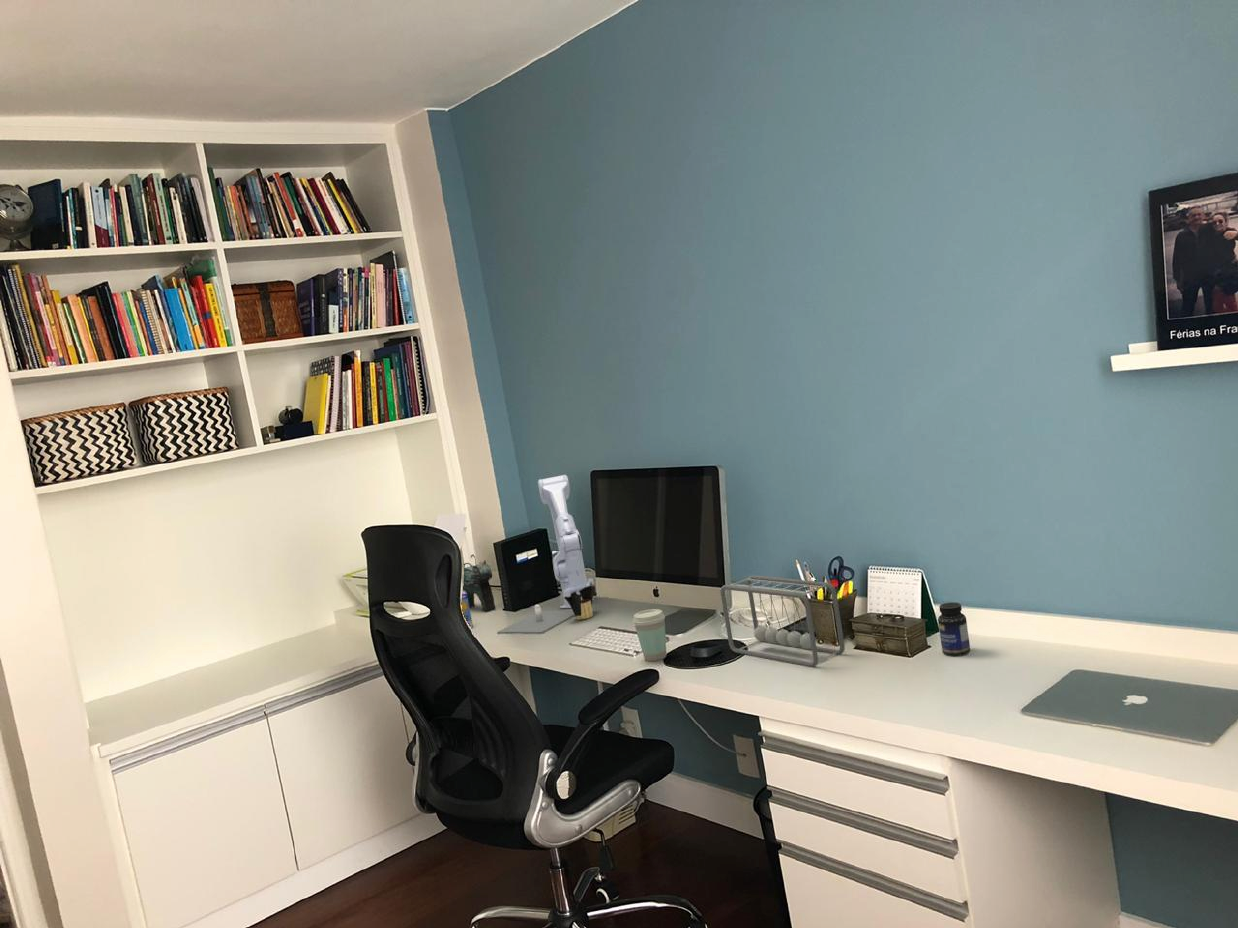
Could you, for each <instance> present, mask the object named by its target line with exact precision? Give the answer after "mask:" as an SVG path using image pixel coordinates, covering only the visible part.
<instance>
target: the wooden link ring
mask: <svg viewBox="0 0 1238 928" xmlns="http://www.w3.org/2000/svg"><path fill="white" fill-rule="evenodd" d="M593 612H594V611H593V605H592V606H591V601H590V599H582V600H581V616H574V617H575V620H578V621H579V620H586V619H590V618H593V616H594V613H593Z"/></svg>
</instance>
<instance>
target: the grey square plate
mask: <svg viewBox="0 0 1238 928" xmlns="http://www.w3.org/2000/svg"><path fill="white" fill-rule="evenodd" d="M533 608H534V613H532V614H530V615H528V616H525V617H523V619H520V620H518V621H517V622H516V621H515V622H514V623H512V624H511V625H509V626H507V627H504V628H503V629H501V630H498V631H496V632H497V634H498V635H499V634H500V635H501V633H525V634H530V635H531V634H541V635H542V634H545V633H546V632H548V631H550V630H552V629H553V628H555V627H557V626H559V625H561V624H562V622H563V623H564V621H565V622H566V621H568V620H570V619H572V618H574V617H575V615H574V612H573V610H543V611H542V608H541V604H535V605H534V607H533ZM525 634H524V635H525Z"/></svg>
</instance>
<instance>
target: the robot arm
mask: <svg viewBox="0 0 1238 928" xmlns="http://www.w3.org/2000/svg"><path fill="white" fill-rule="evenodd" d="M537 485H538V490H539V491H538V492H539V497H540V499H541V500H540V501H541V502H542V504H543V505H547V506H548V507H549V509H550V514H551V519H552V523H553V528H554V533H555V537H556V544H557V548H558V552H557V553H556V555H555V556H554V557H553V558H552V565H553V566H552V567H553V573H554V577H555V579H556V581H557V582H560V587H561V592H562V597H563V602H564V604H563V605H561V606H559V608H560V609H571V611H573V612H574V615H575V616H581V600H582V599H590V601H591V606H592V607H593V601H594V594H595V591H596V586H595V581H594V578H593V577H589V578H587V575H586V568H585V563H584V557H583V552H582V550H583V542H582V537H581V535H580V532H579V530H578V529H577V527H576V524H575V520H574V517H573V515H572V514H570V513H569V512H568V507H567V506H568V505H567V500H568V499H569V497H570V491H571V488H570V481H569V478H568V475H566V474H563V475H558V476H557V475H556V476H553V477H547V478H541V479H540V478H539V479H538V481H537ZM563 560H564V561H563ZM575 616H574V617H575Z"/></svg>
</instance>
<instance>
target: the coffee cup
mask: <svg viewBox="0 0 1238 928" xmlns="http://www.w3.org/2000/svg"><path fill="white" fill-rule="evenodd" d="M665 619H666V617H665V614H664V613H663V610H662V609H658V608H656V609H655V608H653V609H646V610H640V611H639V612H637V613H634V615H633V619H632V624H633V625H634V627H635V631H636V635H637V637H638V640H639V645H640V647H641V652H642V654H643V657H644V660H645V661H647V662H656V661H661V660H662V659H665V658H666V657H667V642H666V640H667V639H666V638H667V637H666V624H665Z"/></svg>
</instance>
